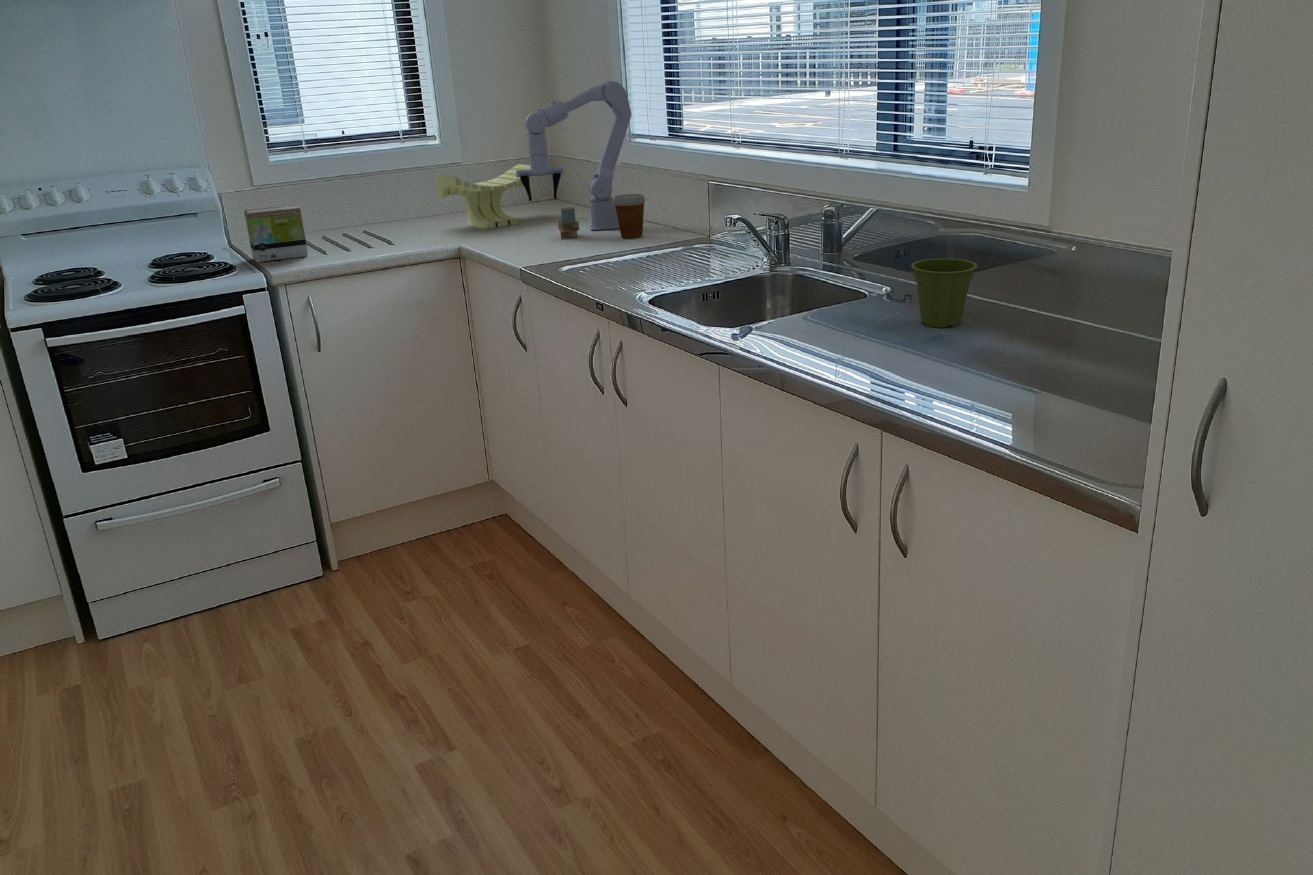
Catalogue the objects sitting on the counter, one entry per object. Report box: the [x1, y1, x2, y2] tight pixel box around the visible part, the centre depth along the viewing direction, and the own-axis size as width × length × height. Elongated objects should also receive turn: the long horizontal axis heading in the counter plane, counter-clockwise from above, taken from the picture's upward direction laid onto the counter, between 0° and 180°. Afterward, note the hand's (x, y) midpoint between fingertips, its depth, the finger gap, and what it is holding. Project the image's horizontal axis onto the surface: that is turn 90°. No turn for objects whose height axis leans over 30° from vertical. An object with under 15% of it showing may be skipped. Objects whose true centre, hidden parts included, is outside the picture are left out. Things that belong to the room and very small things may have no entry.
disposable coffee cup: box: [613, 193, 646, 240], centre depth 300 cm, size 10×10×12 cm
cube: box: [560, 206, 577, 223], centre depth 306 cm, size 4×4×4 cm
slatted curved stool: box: [435, 163, 539, 230], centre depth 340 cm, size 30×16×18 cm, turn 125°
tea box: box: [244, 204, 309, 263], centre depth 304 cm, size 15×10×15 cm
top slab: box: [557, 220, 580, 232], centre depth 307 cm, size 5×5×2 cm
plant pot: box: [910, 258, 978, 329], centre depth 190 cm, size 12×12×11 cm
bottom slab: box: [559, 230, 578, 240], centre depth 308 cm, size 5×5×2 cm
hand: (543, 199), depth 314 cm, fingers open, 7 cm apart
